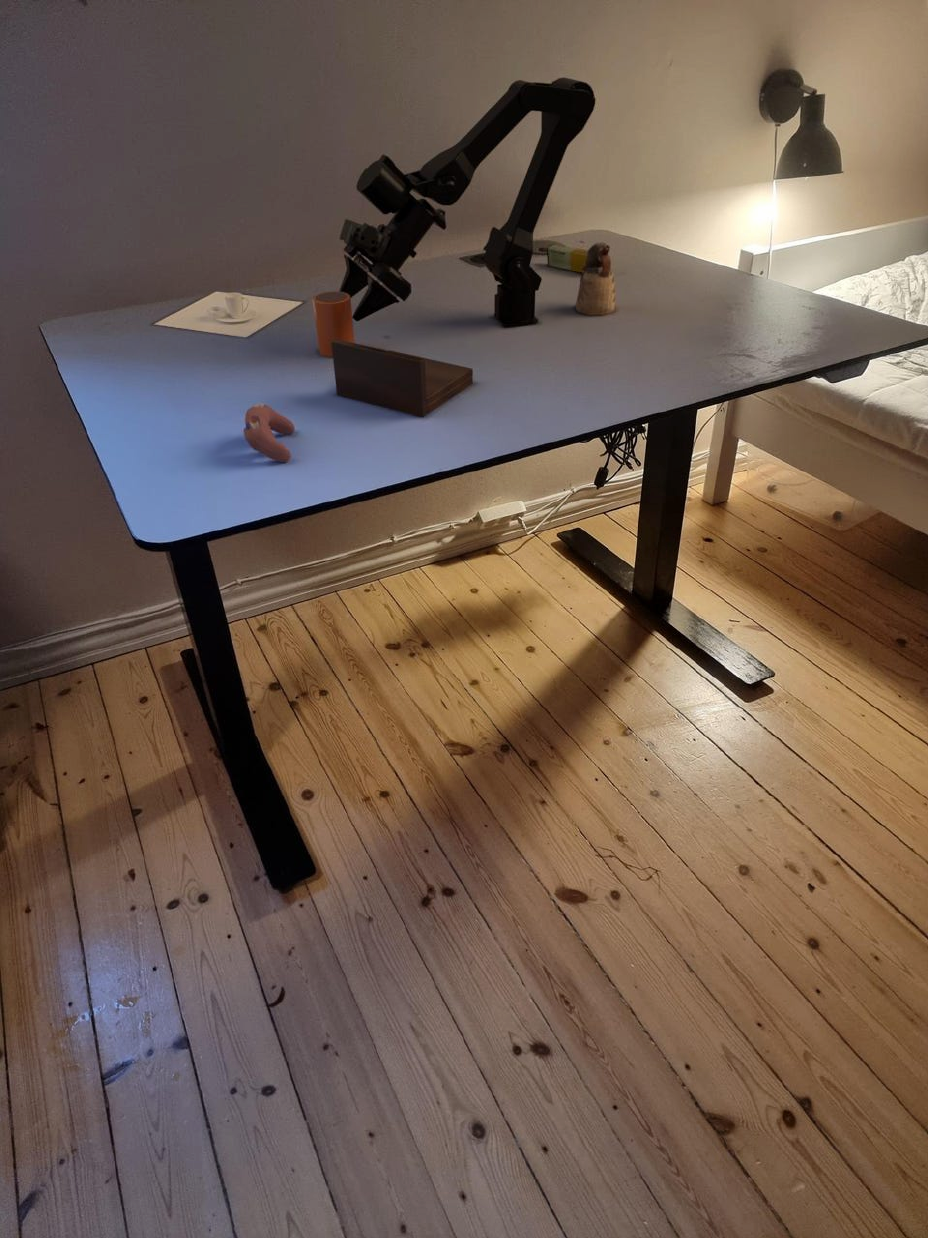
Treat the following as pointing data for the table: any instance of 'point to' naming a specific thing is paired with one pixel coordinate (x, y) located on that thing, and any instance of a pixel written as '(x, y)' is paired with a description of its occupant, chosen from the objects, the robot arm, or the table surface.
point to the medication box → (566, 257)
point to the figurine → (597, 283)
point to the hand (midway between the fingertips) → (346, 311)
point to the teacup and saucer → (229, 314)
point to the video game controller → (267, 431)
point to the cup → (332, 320)
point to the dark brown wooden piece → (396, 378)
